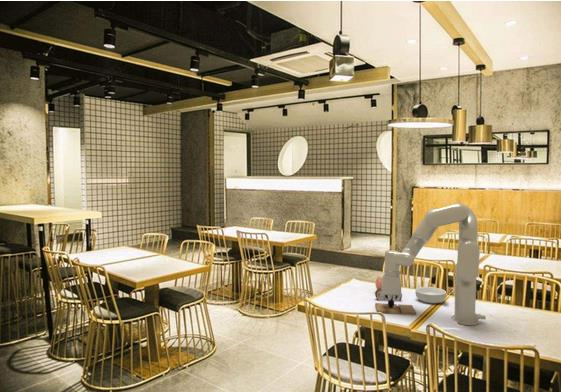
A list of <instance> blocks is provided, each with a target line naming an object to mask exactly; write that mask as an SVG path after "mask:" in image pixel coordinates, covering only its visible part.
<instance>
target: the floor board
mask: <svg viewBox="0 0 561 392" xmlns="http://www.w3.org/2000/svg"><path fill="white" fill-rule="evenodd" d="M397 306H398V308H399V311H400V314H399V315H405V316H407V315H408V316H417V311H416V309H415V308H414V306H413V305H412V304H400V303H399V304H397Z"/></svg>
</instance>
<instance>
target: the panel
mask: <svg viewBox="0 0 561 392" xmlns="http://www.w3.org/2000/svg"><path fill="white" fill-rule="evenodd" d="M374 306H375V309H376V312H382V313H381V314H391V315H401V314H400V311H399V308H398V304H397V303H394V306H393V308H390V307H389V306H388V303H381V302H375V303H374Z"/></svg>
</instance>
